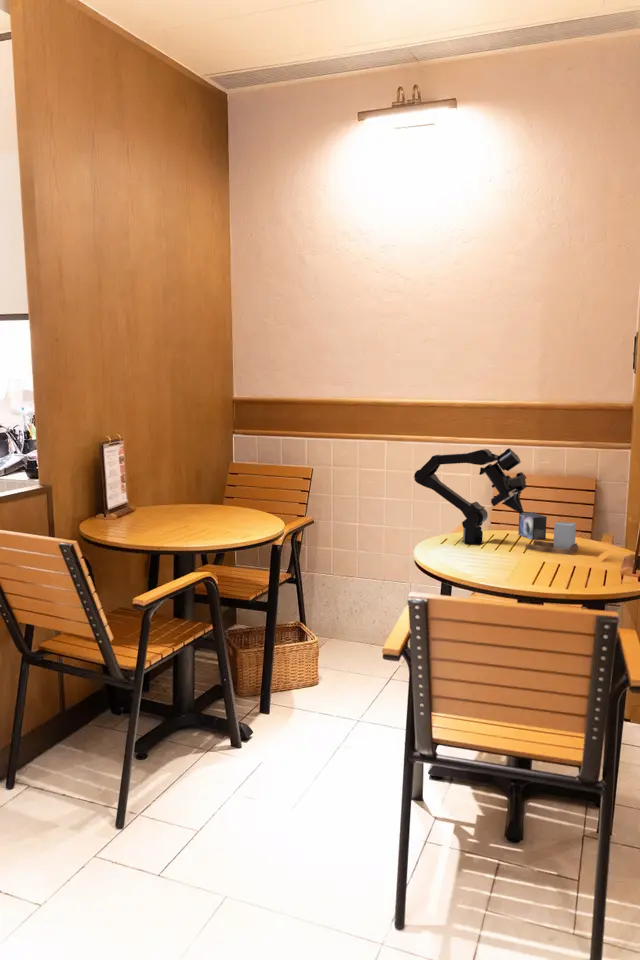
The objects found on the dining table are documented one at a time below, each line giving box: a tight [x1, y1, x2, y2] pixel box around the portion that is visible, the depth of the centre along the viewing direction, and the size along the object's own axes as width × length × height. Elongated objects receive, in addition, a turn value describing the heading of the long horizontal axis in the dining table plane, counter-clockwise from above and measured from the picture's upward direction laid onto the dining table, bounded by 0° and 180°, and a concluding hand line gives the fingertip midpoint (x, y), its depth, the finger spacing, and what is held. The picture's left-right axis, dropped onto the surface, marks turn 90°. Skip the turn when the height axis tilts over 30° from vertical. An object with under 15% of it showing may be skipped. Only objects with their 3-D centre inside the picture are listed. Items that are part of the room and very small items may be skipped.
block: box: [553, 521, 577, 550], centre depth 278 cm, size 6×6×10 cm
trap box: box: [524, 540, 579, 556], centre depth 281 cm, size 16×10×4 cm, turn 57°
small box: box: [518, 511, 548, 541], centre depth 304 cm, size 11×6×10 cm, turn 17°
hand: (522, 512), depth 287 cm, fingers closed
